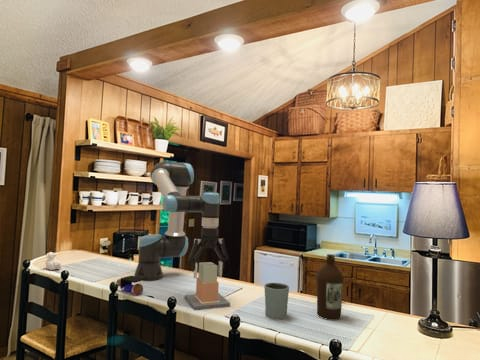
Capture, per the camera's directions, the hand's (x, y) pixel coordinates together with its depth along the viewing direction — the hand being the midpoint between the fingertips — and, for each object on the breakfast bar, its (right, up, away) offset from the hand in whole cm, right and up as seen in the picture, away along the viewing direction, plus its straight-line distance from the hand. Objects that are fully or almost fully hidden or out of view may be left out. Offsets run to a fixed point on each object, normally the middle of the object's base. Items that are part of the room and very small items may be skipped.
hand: (207, 276), depth 152 cm
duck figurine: (-94, -9, +46) cm, 106 cm away
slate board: (0, -11, 0) cm, 11 cm away
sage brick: (0, -1, 0) cm, 1 cm away
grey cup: (+29, -12, -13) cm, 34 cm away
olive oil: (+51, -13, -11) cm, 54 cm away
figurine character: (-37, -10, +10) cm, 40 cm away
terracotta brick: (0, -9, 0) cm, 9 cm away
